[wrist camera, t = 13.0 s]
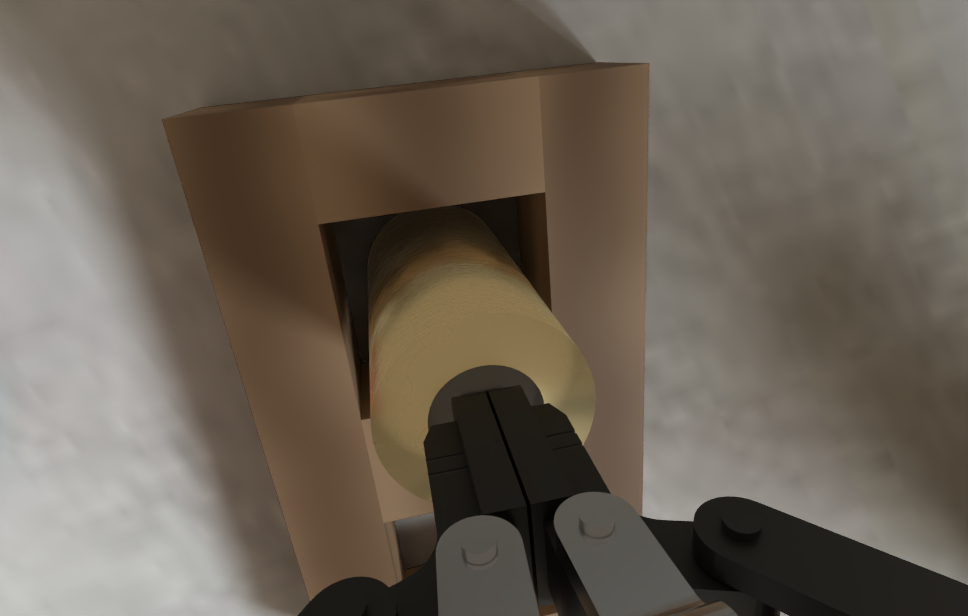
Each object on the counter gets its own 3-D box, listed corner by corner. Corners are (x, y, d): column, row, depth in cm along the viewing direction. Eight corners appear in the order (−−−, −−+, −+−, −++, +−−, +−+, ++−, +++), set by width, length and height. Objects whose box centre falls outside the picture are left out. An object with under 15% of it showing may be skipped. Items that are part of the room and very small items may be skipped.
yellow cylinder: (495, 193, 21) (594, 295, 12) (506, 318, 23) (598, 485, 14) (355, 213, 21) (350, 336, 12) (379, 340, 23) (391, 530, 14)
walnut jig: (597, 62, 20) (649, 63, 16) (606, 572, 30) (640, 643, 26) (201, 107, 18) (161, 119, 15) (347, 633, 28) (345, 718, 25)
